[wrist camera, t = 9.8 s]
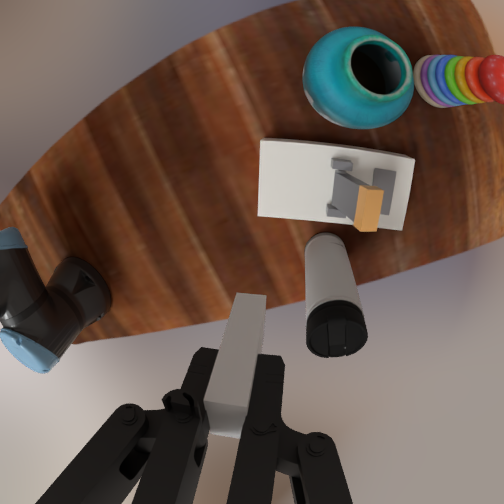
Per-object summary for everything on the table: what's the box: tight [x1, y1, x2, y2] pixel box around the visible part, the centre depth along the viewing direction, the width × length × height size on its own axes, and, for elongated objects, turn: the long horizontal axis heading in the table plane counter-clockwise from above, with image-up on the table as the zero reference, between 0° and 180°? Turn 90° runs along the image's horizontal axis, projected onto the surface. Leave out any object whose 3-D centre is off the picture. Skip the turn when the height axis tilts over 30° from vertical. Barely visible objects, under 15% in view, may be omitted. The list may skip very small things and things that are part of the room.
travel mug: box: [305, 233, 368, 358], centre depth 35 cm, size 6×7×20 cm
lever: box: [331, 170, 384, 232], centre depth 31 cm, size 2×4×9 cm, turn 179°
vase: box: [303, 27, 414, 129], centre depth 24 cm, size 11×11×19 cm
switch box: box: [258, 138, 415, 231], centre depth 36 cm, size 20×10×6 cm, turn 88°
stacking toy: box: [413, 55, 504, 108], centre depth 21 cm, size 8×8×19 cm
